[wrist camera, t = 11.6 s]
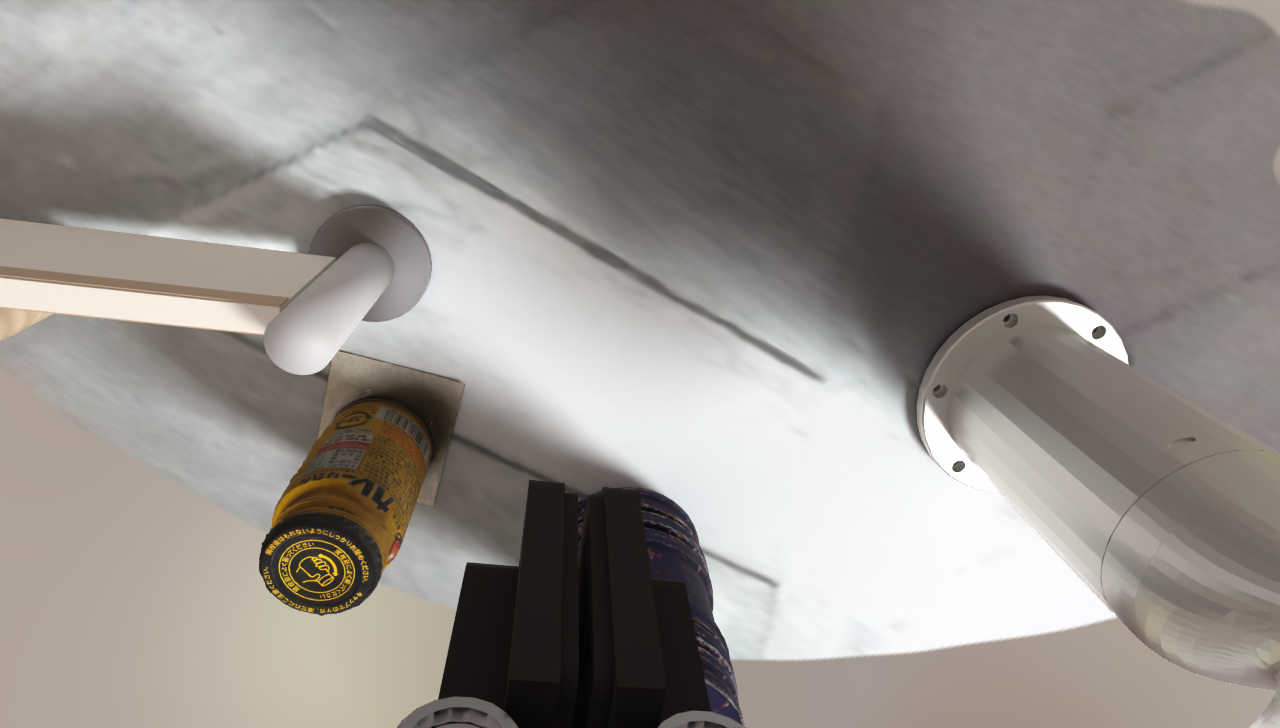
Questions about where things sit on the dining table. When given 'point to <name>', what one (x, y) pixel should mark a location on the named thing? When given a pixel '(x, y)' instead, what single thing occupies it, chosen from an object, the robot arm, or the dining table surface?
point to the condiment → (358, 483)
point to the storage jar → (684, 560)
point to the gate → (195, 286)
